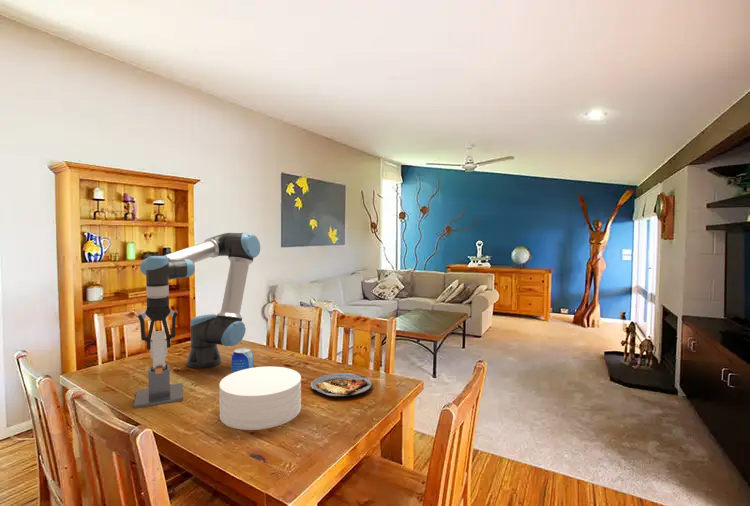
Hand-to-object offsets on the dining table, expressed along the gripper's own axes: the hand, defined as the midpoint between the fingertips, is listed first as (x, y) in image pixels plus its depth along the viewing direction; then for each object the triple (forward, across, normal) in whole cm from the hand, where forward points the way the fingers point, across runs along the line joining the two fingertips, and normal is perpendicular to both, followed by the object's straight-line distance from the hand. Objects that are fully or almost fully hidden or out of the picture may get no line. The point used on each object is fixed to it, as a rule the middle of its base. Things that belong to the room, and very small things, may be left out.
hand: (159, 356), depth 154 cm
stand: (+16, 0, 0) cm, 16 cm away
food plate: (+16, -67, +22) cm, 72 cm away
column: (+12, 0, 0) cm, 12 cm away
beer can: (+16, -30, +6) cm, 34 cm away
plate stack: (+16, -33, +29) cm, 47 cm away
